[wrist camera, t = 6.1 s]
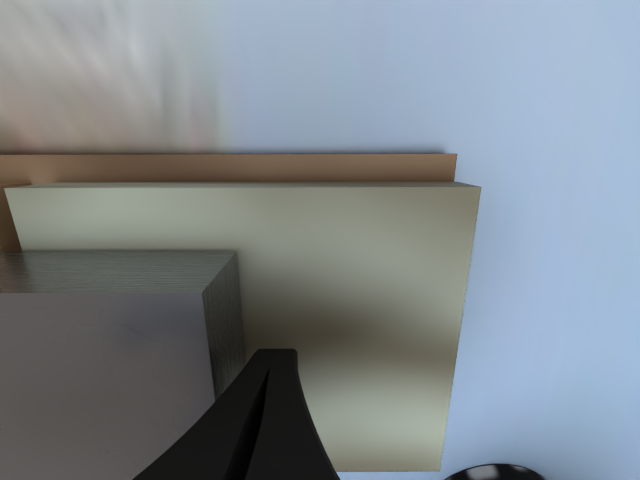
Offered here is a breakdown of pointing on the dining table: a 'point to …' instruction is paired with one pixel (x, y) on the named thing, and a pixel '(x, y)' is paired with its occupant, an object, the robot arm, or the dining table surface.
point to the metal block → (111, 357)
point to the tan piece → (294, 268)
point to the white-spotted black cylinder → (497, 473)
